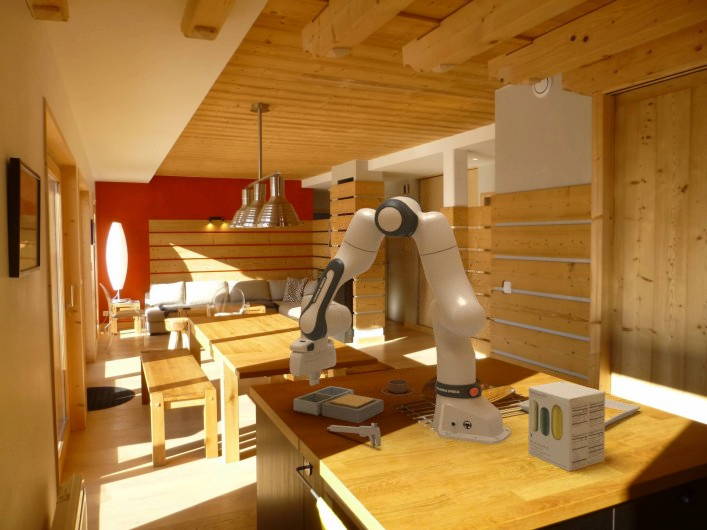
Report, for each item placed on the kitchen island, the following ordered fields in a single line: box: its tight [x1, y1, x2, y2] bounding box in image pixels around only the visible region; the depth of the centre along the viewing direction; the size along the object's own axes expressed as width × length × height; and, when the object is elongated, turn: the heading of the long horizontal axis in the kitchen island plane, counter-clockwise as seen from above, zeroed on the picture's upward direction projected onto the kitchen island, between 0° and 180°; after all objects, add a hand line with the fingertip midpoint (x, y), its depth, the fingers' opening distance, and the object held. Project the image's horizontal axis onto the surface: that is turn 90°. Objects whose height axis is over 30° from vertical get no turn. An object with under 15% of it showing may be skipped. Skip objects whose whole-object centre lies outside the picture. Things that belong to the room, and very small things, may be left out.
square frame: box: [321, 394, 385, 424], centre depth 179 cm, size 14×14×4 cm
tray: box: [293, 385, 354, 417], centre depth 188 cm, size 20×10×4 cm, turn 145°
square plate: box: [517, 397, 641, 427], centre depth 177 cm, size 27×27×4 cm
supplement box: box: [527, 380, 606, 472], centre depth 142 cm, size 13×13×18 cm
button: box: [331, 394, 376, 409], centre depth 179 cm, size 10×10×4 cm
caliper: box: [326, 422, 382, 448], centre depth 156 cm, size 20×1×6 cm, turn 44°
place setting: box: [380, 379, 416, 397], centre depth 202 cm, size 18×20×6 cm
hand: (314, 384), depth 184 cm, fingers closed
